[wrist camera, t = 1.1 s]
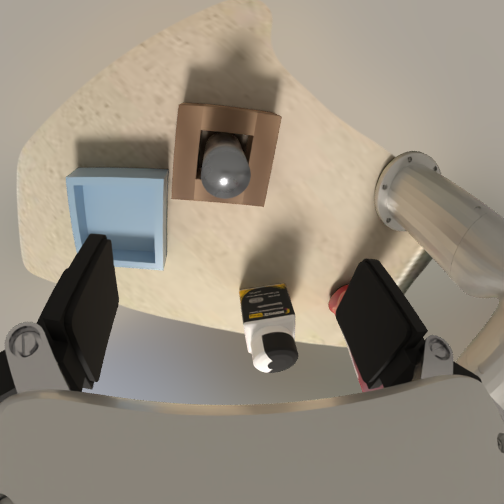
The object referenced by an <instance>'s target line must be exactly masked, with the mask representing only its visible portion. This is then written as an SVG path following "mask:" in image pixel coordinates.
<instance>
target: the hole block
mask: <svg viewBox="0 0 504 504" xmlns="http://www.w3.org/2000/svg"><path fill="white" fill-rule="evenodd" d="M281 118H282V117H281V116H279V115H277V114H275V113H272V112H266V111H260V110H253V109H246V108H238V107H230V106H221V105H211V104H199V103H182V104H180V105H179V108H178V117H177V127H176V137H175V149H174V162H173V178H172V199H180V200H194V201H208V202H220V203H231V204H242V205H252V206H262V207H264V204H265V199H266V194H267V189H268V184H269V179H270V174H271V169H272V164H273V159H274V154H275V149H276V144H277V139H278V133H279V128H280V123H281ZM202 130H207V131H218V132H228V133H236V134H245V135H248V140H247V146H246V152H245V157H246V160H247V162H248V165H249V167H250V171H251V178H250V182H249V185H248V186H247V188H246V189H245V190H244V191H243V192H242V193H241V194H239V195H238V196H236V197H233V198H227V199H223V198H218V197H215V196H213V195H211V194H210V193H208V192H207V191H206V189H205V188H204V186H203V184H202V181H201V170H202V168H198V161H199V152H200V143H201V134H202Z"/></svg>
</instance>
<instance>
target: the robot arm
mask: <svg viewBox="0 0 504 504" xmlns="http://www.w3.org/2000/svg"><path fill="white" fill-rule="evenodd" d="M375 208H376V211H377V214H378V216H379V218H380V219H381V221H382V222H383V223H384V224H385V225H386V226H388V227H389V228H390V229H393V230H395V231H407V232H408V233H409V234H410V235H411V236H412V237H413V238H414V239H415V240H416V241H417V242H418V243H419V244H420V245H421V246H422V247H423V248H424V249H425V250H426V251H427V253H428V254H429V255H430V256H431V257H432V258H433V259H434V260H435V261H436V262H437V263H438V264H439V265H440V267H441V268H442V269H443V270H444V271H445V272H446V273H447V275H448V276H449V277H450V278H451V279H452V280H453V281H454V283H455V284H456V285H457V286H458V287H459V288H460V289H461V290H462V291H463V292H464V293H466V294H467V295H469V296H472V297H476V298H497V299H499V304H498V306H497V308H496V310H495V311H494V313H493V314H492V316H491V318H490V319H489V320H488V322H487V323H486V324H485V326H484V327H483V328H482V329H481V331H480V332H479V333H478V334H477V336H476V337H475V338H474V339H473V340H472V342H471V343H470V344H469V345H468V346H467V348H466V349H465V350H464V351H463V353H462V354H461V355H460V356H459V358H458V359H457V361H456V363H455V362H454V361H453V352H452V349H451V347H450V346H449V344H448V343H447V342H446V341H445V340H444V339H442V338H441V337H438V336H436V335H430V336H428V337H427V338H426V340H424V338H423V336H424V335H425V334H426V333H427V331H428V330H427V329H426V327H425V326H424V324H423V323H422V321H421V320H420V318H419V316H418V315H417V313H416V312H415V311H414V309H413V307H412V306H411V305H410V303H409V302H408V300H407V299H406V297H405V296H404V294H403V293H402V292H401V290H400V289H399V287H398V286H397V285H396V283H395V282H394V280H393V279H392V278H391V276H390V275H389V274H388V272H387V271H386V270H385V268H384V267H383V266H382V264H381V263H380V262H379V261H378V260H375V259H364V260H363V261H362V262H360V263H359V265H358V267H357V269H356V271H355V273H354V275H353V277H352V279H351V281H350V283H349V285H348V287H347V290H346V292H345V294H344V296H343V298H342V300H341V302H340V303H339V305H338V307H337V309H336V319H337V321H338V324H339V326H340V328H341V330H342V333H343V335H344V337H345V339H346V342H347V344H348V346H349V349H350V351H351V353H352V356H353V358H354V361H355V363H356V365H357V368H358V370H359V373H360V375H361V377H362V380H363V381H364V382H365V383H366V384H367V386H368V389H374V388H379V387H380V386H381V385H383V387H384V388H382V389H378V390H373V391H368V392H362V393H357V394H351V395H345V396H339V397H332V398H325V399H317V400H309V401H299V402H288V403H275V404H255V405H196V404H178V403H164V402H153V401H144V400H135V399H126V398H119V397H112V396H106V395H99V394H92V393H85V392H82V388H88V389H92V388H93V384H94V382H98V380H99V377H100V373H101V368H102V364H103V359H104V355H105V351H106V347H107V343H108V339H109V336H110V332H111V329H112V325H113V321H114V318H115V315H116V311H117V308H118V303H119V296H118V290H117V283H116V276H115V269H114V260H113V251H112V242H111V240H110V239H107V237H106V235H104V234H92V233H91V234H90V235H89V236H88V237H87V239H86V240H85V242H84V244H83V245H82V247H81V248H80V250H79V252H78V253H77V255H76V256H75V258H74V260H73V261H72V263H71V265H70V266H69V268H67V269H66V270H65V271H64V272H63V274H62V276H61V277H60V279H59V281H58V283H57V284H56V286H55V288H54V290H53V292H52V294H51V296H50V297H49V300H48V302H47V303H46V305H45V307H44V309H43V311H42V313H41V315H40V317H39V319H38V322H37V324H36V323H33V322H23V323H20V324H18V325H16V326H15V327H13V328H12V329H11V331H9V333H8V335H7V337H6V340H5V350H4V351H2V352H0V504H504V218H503V217H502V216H500V215H499V214H497V213H496V212H495V211H494V210H492V209H491V208H490V207H488V206H487V205H486V204H484V203H483V202H481V201H480V200H478V199H477V198H476V197H474V196H473V195H471V194H470V193H468V192H467V191H466V190H464V189H463V188H461V187H459V186H458V185H456V184H455V183H453V182H451V181H450V180H448V179H447V178H445V177H444V176H442V175H441V173H440V169H439V167H438V165H437V164H436V162H435V161H434V160H433V159H432V158H431V157H429V156H427V155H426V154H424V153H421V152H417V151H410V152H406V153H403V154H401V155H399V156H397V157H396V158H394V159H393V160H392V161H391V162H390V163H389V164H388V165H387V166H386V168H385V169H384V170H383V172H382V174H381V176H380V178H379V180H378V183H377V186H376V191H375Z"/></svg>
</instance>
